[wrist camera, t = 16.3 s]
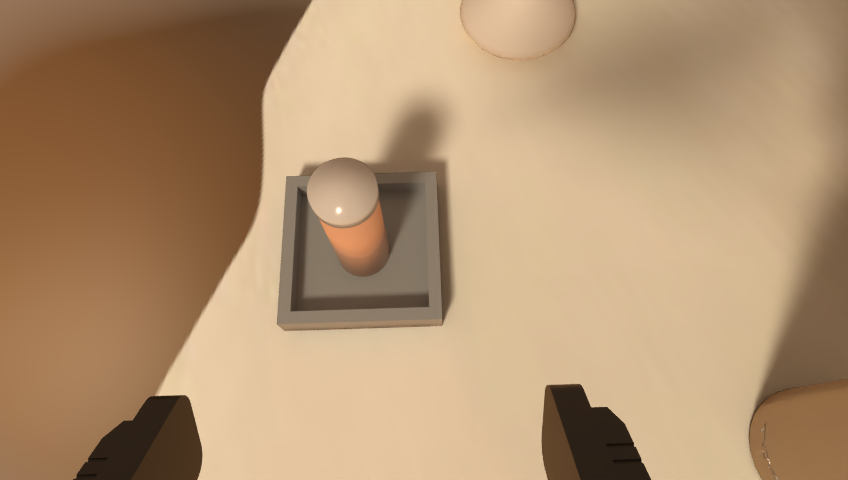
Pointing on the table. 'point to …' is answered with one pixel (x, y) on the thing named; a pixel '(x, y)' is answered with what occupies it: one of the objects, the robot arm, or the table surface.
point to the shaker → (350, 214)
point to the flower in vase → (518, 26)
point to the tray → (372, 295)
